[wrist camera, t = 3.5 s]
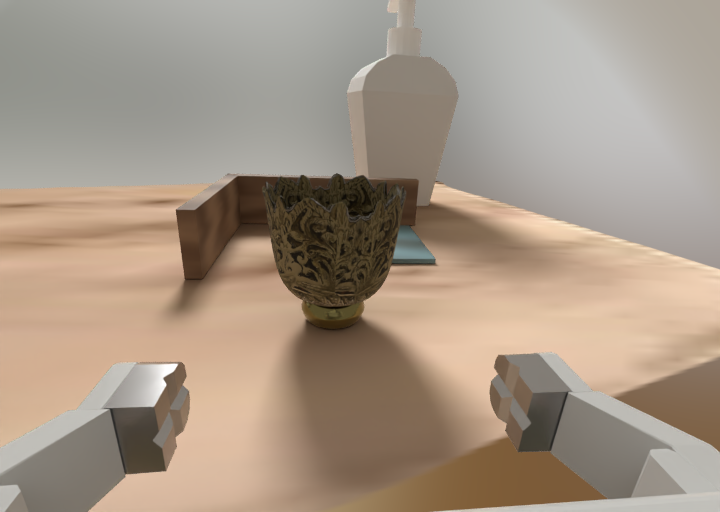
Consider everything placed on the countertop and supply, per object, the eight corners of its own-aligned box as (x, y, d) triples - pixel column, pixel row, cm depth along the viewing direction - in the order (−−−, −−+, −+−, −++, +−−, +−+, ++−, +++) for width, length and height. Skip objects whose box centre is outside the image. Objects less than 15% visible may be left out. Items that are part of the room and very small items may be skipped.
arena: (458, 278, 29) (468, 214, 27) (184, 278, 27) (175, 209, 25) (412, 222, 44) (416, 178, 42) (231, 220, 41) (228, 173, 40)
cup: (276, 364, 18) (268, 200, 15) (263, 296, 25) (257, 173, 22) (416, 342, 20) (432, 196, 18) (371, 285, 27) (377, 172, 24)
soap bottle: (416, 192, 61) (434, 4, 52) (444, 207, 52) (472, -18, 43) (341, 192, 58) (346, -7, 49) (357, 208, 49) (367, -33, 40)
